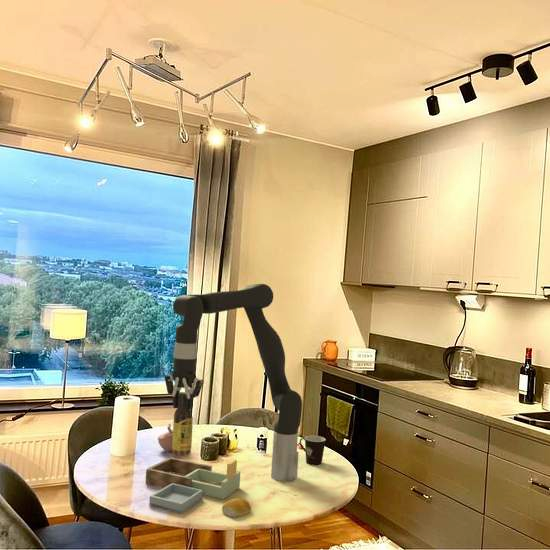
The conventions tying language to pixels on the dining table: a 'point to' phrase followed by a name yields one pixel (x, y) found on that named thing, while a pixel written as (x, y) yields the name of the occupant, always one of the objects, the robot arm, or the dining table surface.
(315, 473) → the dining table surface
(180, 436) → the sauce bottle
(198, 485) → the caddy
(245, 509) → the bread roll
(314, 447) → the coffee mug
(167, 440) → the pinkish brown apple
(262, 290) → the robot arm
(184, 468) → the walnut bay
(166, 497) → the tray
